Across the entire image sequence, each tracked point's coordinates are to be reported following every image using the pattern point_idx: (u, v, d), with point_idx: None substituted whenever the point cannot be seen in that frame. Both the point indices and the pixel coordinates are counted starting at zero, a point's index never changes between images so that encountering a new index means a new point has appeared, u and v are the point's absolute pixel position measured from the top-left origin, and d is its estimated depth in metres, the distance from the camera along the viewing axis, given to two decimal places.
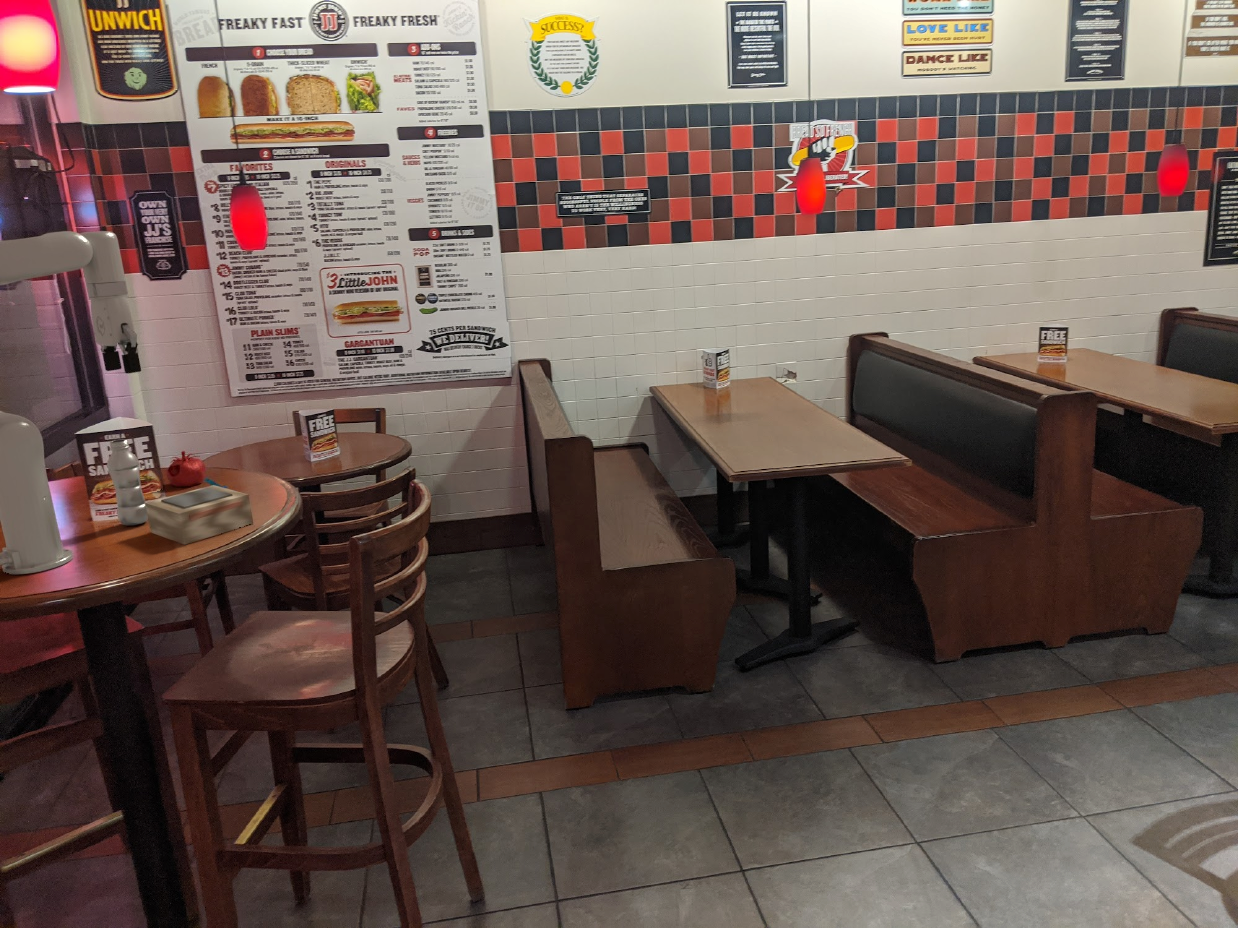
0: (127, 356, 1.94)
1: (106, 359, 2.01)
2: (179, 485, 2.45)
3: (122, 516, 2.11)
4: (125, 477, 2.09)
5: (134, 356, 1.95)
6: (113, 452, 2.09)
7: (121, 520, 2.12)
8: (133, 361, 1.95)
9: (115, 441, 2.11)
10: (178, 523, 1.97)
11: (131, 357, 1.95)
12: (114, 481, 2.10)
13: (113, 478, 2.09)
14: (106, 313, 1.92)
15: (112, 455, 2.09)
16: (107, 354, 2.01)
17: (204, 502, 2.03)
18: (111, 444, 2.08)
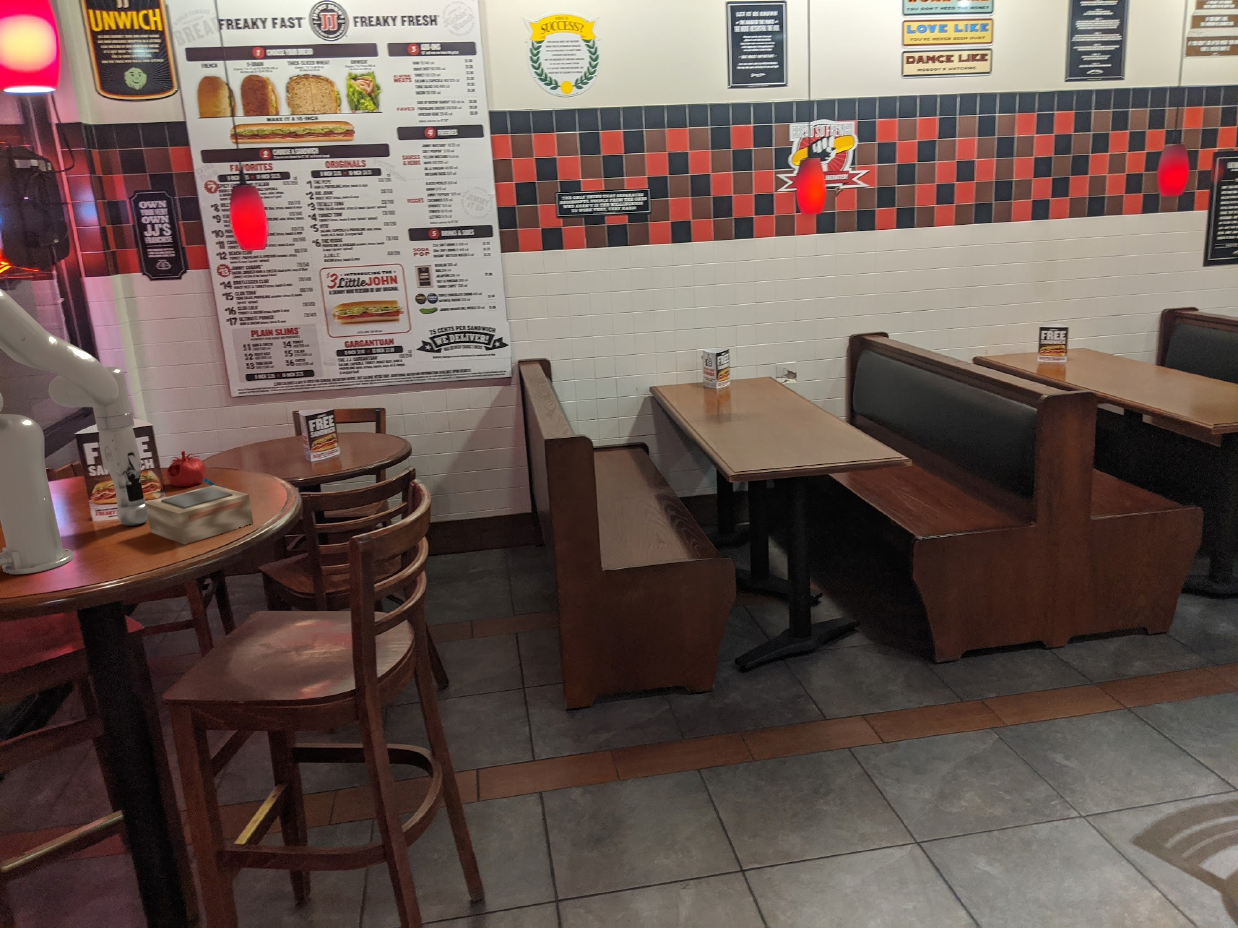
0: (131, 486, 2.09)
1: None
2: (179, 485, 2.45)
3: (122, 516, 2.11)
4: None
5: (137, 485, 2.10)
6: None
7: (121, 520, 2.12)
8: (136, 490, 2.10)
9: None
10: (178, 523, 1.97)
11: (134, 487, 2.10)
12: (114, 481, 2.10)
13: (113, 478, 2.09)
14: (114, 444, 2.05)
15: None
16: None
17: (204, 502, 2.03)
18: None
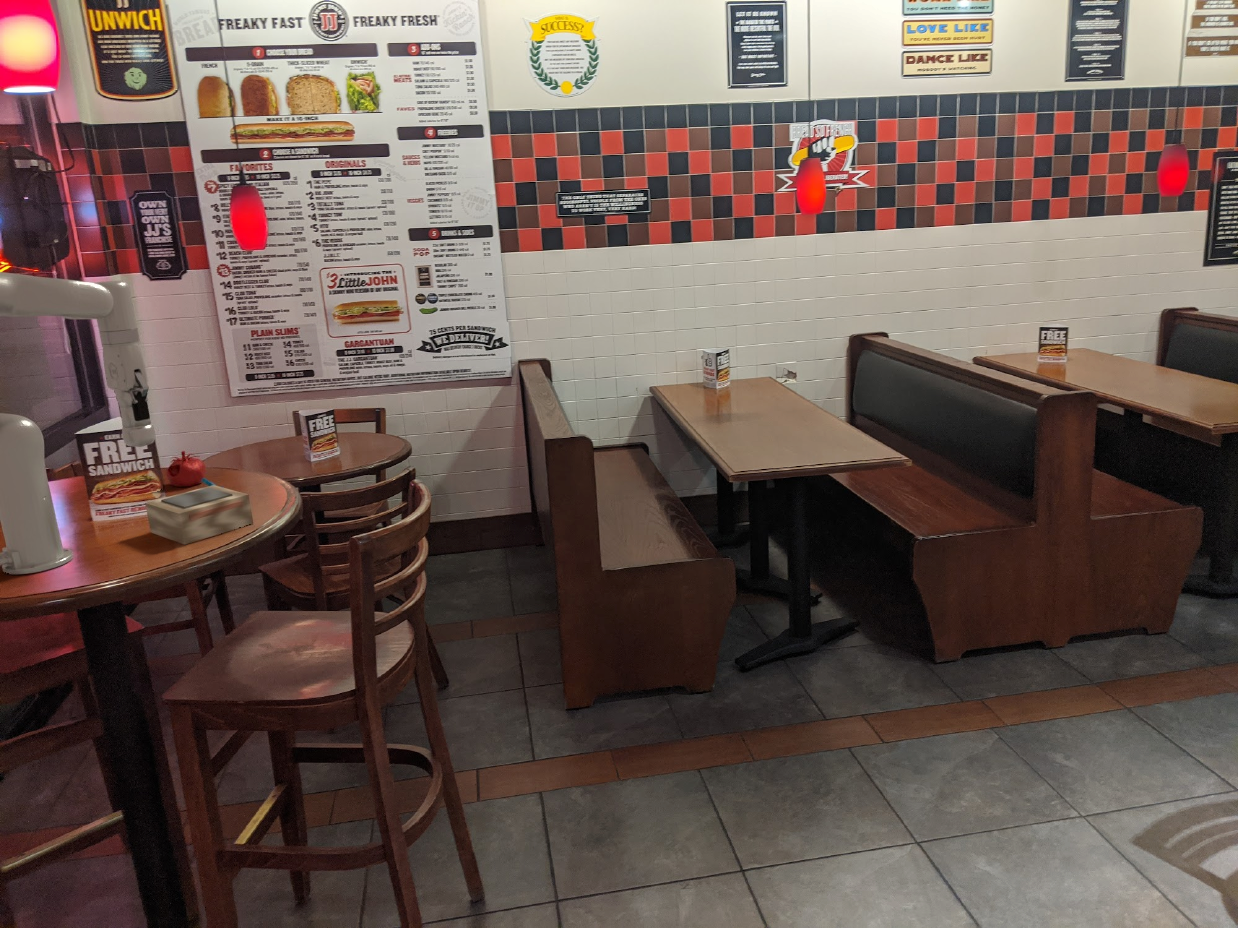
0: (137, 404, 2.03)
1: None
2: (179, 485, 2.45)
3: (128, 437, 2.05)
4: None
5: (143, 404, 2.04)
6: None
7: (126, 441, 2.05)
8: (143, 409, 2.04)
9: None
10: (178, 523, 1.97)
11: (141, 405, 2.03)
12: (119, 400, 2.03)
13: (118, 396, 2.03)
14: (120, 360, 1.99)
15: None
16: None
17: (204, 502, 2.03)
18: None
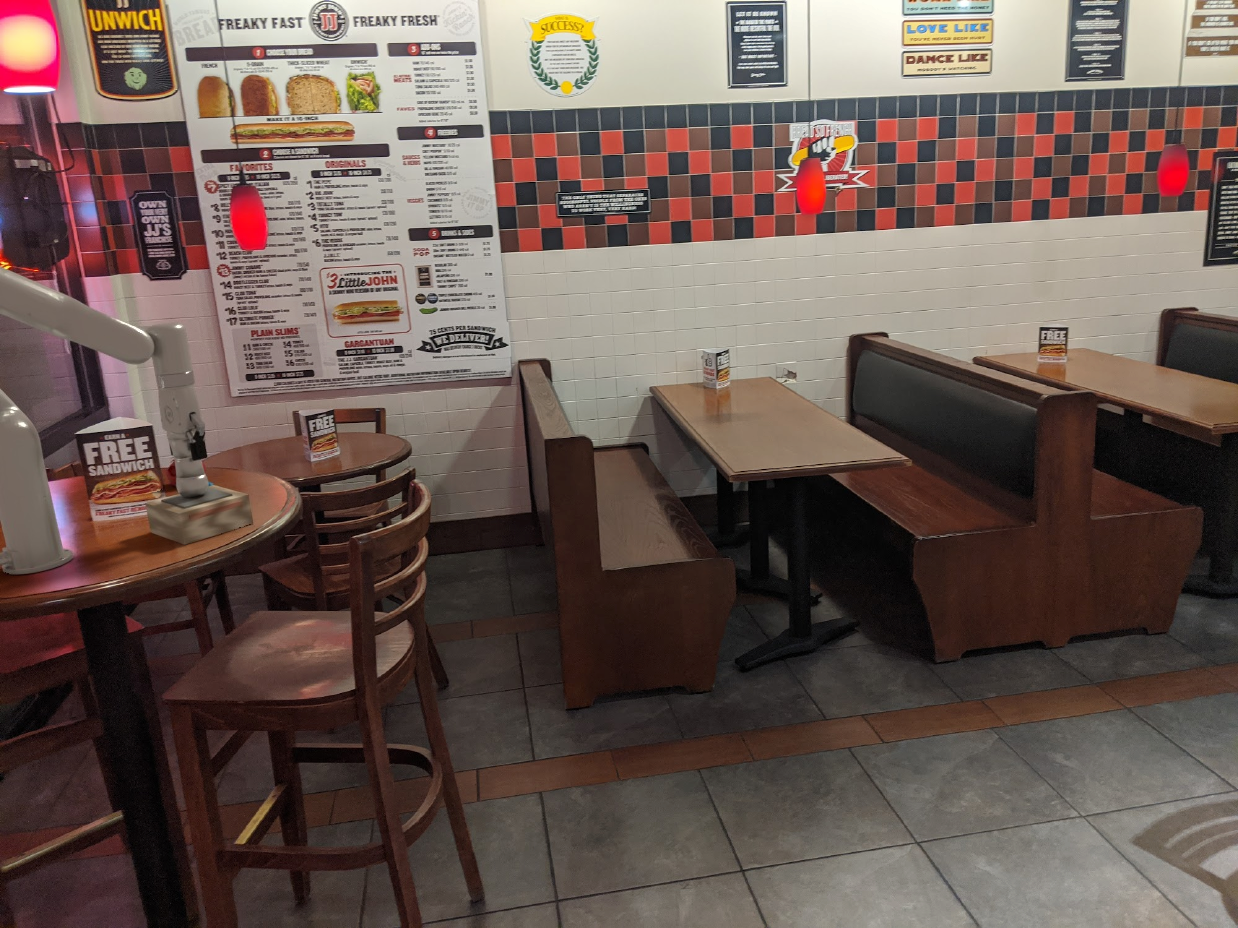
0: (195, 444, 2.00)
1: None
2: None
3: (182, 487, 2.04)
4: (185, 447, 2.02)
5: (201, 444, 2.00)
6: None
7: (180, 491, 2.05)
8: (200, 448, 2.00)
9: None
10: (178, 523, 1.97)
11: (198, 445, 2.00)
12: (174, 451, 2.03)
13: (173, 447, 2.02)
14: (175, 403, 1.97)
15: None
16: None
17: (204, 502, 2.03)
18: None
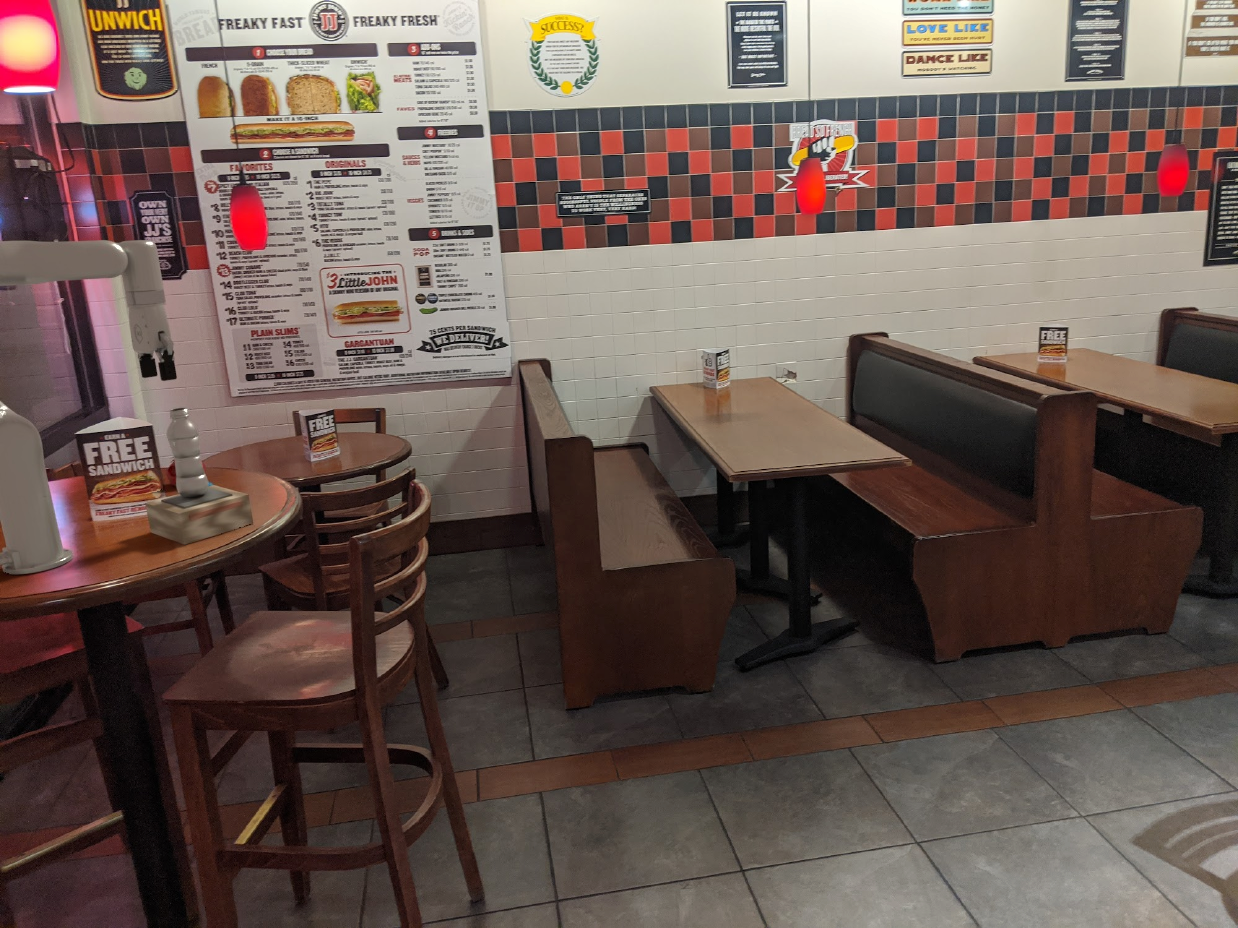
0: (163, 364, 1.96)
1: (143, 366, 2.03)
2: None
3: (182, 487, 2.04)
4: (185, 447, 2.02)
5: (170, 364, 1.97)
6: (173, 420, 2.02)
7: (180, 491, 2.05)
8: (169, 369, 1.97)
9: (174, 409, 2.04)
10: (178, 523, 1.97)
11: (167, 365, 1.97)
12: (174, 451, 2.03)
13: (173, 447, 2.02)
14: (144, 321, 1.94)
15: (172, 424, 2.02)
16: (144, 361, 2.03)
17: (204, 502, 2.03)
18: (171, 412, 2.01)
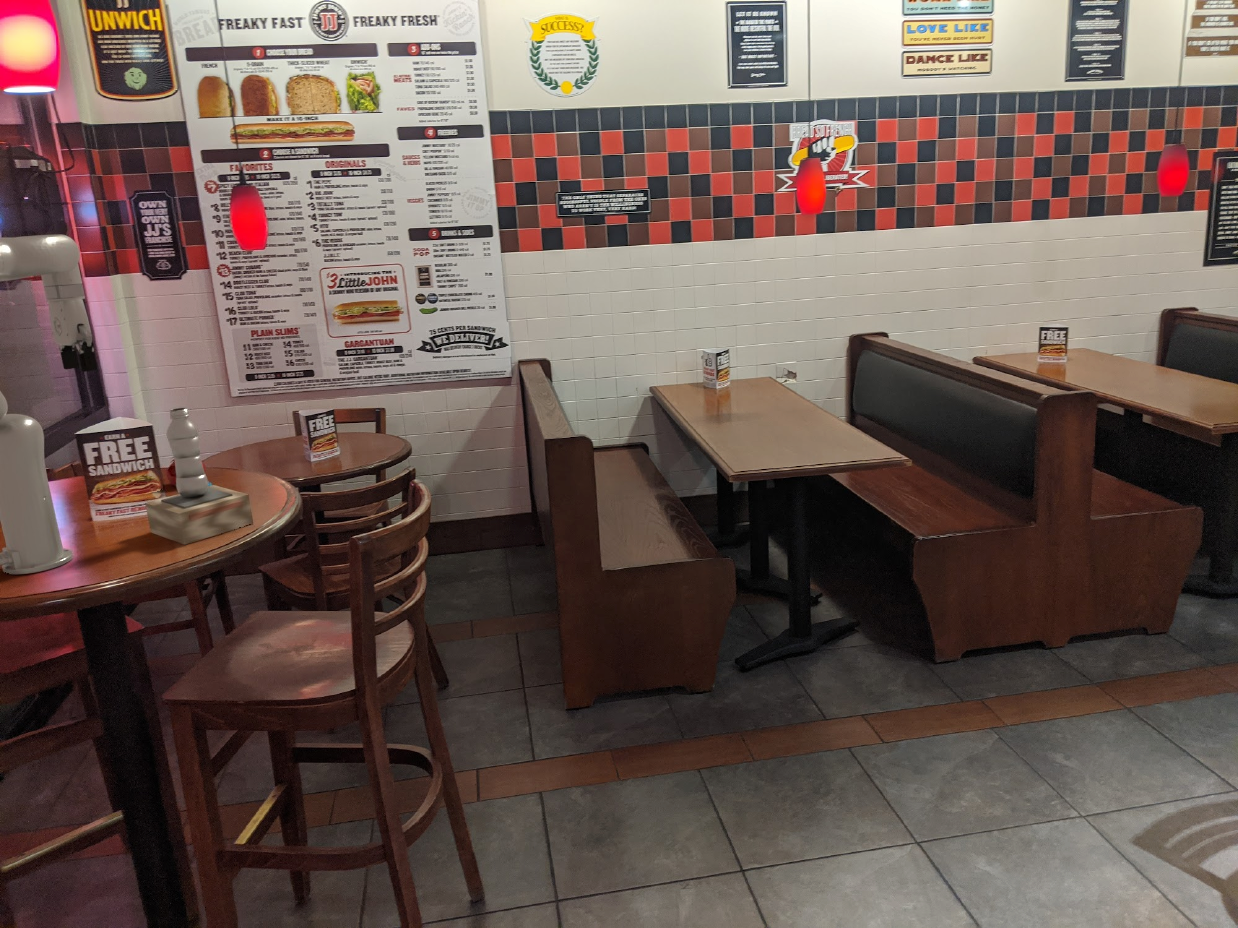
0: (83, 355, 2.04)
1: (64, 358, 2.10)
2: None
3: (182, 487, 2.04)
4: (185, 447, 2.02)
5: (90, 355, 2.05)
6: (173, 420, 2.02)
7: (180, 491, 2.05)
8: (89, 360, 2.05)
9: (174, 409, 2.04)
10: (178, 523, 1.97)
11: (87, 356, 2.04)
12: (174, 451, 2.03)
13: (173, 447, 2.02)
14: (63, 314, 2.02)
15: (172, 424, 2.02)
16: (65, 353, 2.10)
17: (204, 502, 2.03)
18: (171, 412, 2.01)
